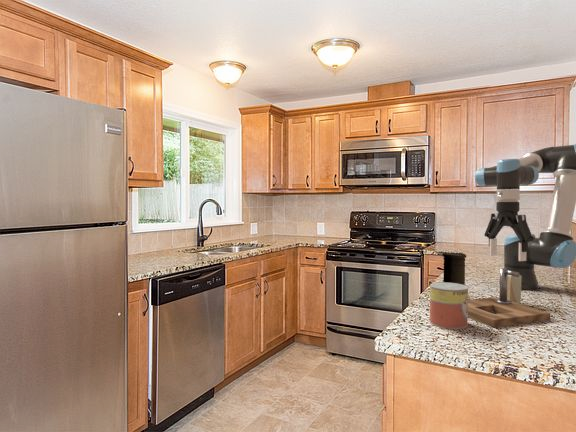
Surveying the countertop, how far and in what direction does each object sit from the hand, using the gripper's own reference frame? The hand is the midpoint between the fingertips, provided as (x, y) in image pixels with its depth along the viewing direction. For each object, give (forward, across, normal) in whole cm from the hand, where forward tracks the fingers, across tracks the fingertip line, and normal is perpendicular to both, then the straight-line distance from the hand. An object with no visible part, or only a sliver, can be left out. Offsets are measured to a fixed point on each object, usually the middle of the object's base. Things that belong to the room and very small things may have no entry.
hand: (507, 258), depth 151 cm
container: (+17, -11, -15) cm, 25 cm away
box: (+17, +1, +2) cm, 17 cm away
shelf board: (+17, +10, -15) cm, 25 cm away
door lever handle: (+15, +8, -7) cm, 18 cm away
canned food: (+17, +14, -36) cm, 42 cm away
